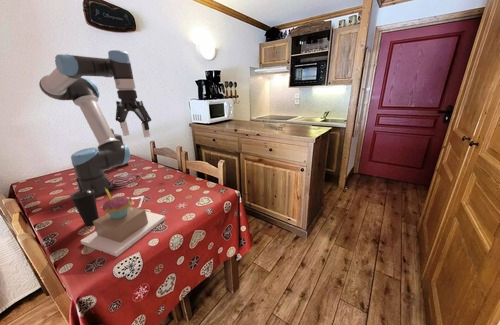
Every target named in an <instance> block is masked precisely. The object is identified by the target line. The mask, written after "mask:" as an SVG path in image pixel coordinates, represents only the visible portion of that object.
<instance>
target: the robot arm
mask: <svg viewBox="0 0 500 325" xmlns="http://www.w3.org/2000/svg"><path fill="white" fill-rule="evenodd" d="M107 53H108V54H107V55H108V56H107V57H108V58H107V57H105V58H104V57H94V56H83V55H76V54H75V55H74V54H68V53H66V54H59V53H58V54H56V56H55V57H54V59H55V60H54V61H55V62H54V63H55V69H53V71H51V73H50V74H49V75H44V76H42V77H41V79H40V80H39V83H38V85H39V88H40V90H41V91H42V93H43V94H45V95H46V96H48V97H49V98H51V99H54V100H58V101H72V102H73V104H74V105H75V106H77V107H79V109H80V111H81V112H82V115H83V116H84V118H85V120H86V122H87V123H88V126H89V128H90V129H91V132H92V133H93V135H94V137H95V139H96V141H97V142H98V145H97V147H88V148H83V149H80V150H77V151H75V152H74V153H72V154H71V156H70V159H71V165H72V167H73V168H74V173H75V174H76V179H77V178H78V179H79V182H80V185H81V188H82V189H93V190H94V196H95V197H99V196H102V195H105V194H107V192H106V189H108V191H109V192H111V190H112V189H113V185H112V182H111V181H110V179H108V177H107V175H106V173H105V171H106V170H110V169H114V168H113V167H116V166H120V165H123V164H126V163H128V164H129V162H130V159H131V152H130V149H129V146H128V145H127V144H125V143H123V144H121V142H120V140H117V139H115V137H114V135H113V133H112V131H111V127H110V125H109V124H108V121H107V119H106V118H105V116H104V114H103V112H102V110H101V107H100V105H99V104H98V102H99V98H100V92H99V88H98V86H97V85H96V83H95V82H94V81H93V80H92V79H90V78H87V77H102V78H103V77H104V78H113V80H114V83H115V84H114V85H115V88H116V89H117V91H116V93H117V98H118V99H119V100H116V101H115V104H116V109H115V110H116V111H115V121H116V122H118V123H119V125H120V129H121V132H122V135H123V136H124V137H127V136H130V131H129V127H128V126H129V125H128V123H127V120H126V119H127V117H128V114H129V112H133V113H134V114H135V115H136V116H137V118H138V119H139V120H140V121H141V129H142V133H143V137H144V138H149V137H151V135H150V125H149V122H152V118H151V116H150V115H149V113H148V111H147V109H146V108H145V106H144V103H143V100H137V98H138V94H137V91H136V85H135V80H134V79H135V78H134V74H133V68H132V63H131V61H130V57H129V56H130V55H129V53H128V52H127V51H124V50H120V49H119V50H117V49H116V50H109V51H108V52H107ZM85 77H86V78H85ZM105 188H106V189H105ZM79 190H80V189H79V186H78V185H77V191H79Z"/></svg>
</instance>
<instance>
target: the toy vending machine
mask: <svg viewBox="0 0 500 325" xmlns="http://www.w3.org/2000/svg"><path fill="white" fill-rule="evenodd" d="M110 129H111V131H112V133H113V135H114V137H115V139H117V140H120V142H121V144H124V140H123V137H122V135H121V134H119V133H115V131H114V129H113V128H111V127H110ZM129 166H130V165H129V162H128V163H126V164H123V165H120V166H116V167H113V168H112V169H114V170H119V169H123V168H127V167H129Z"/></svg>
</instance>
